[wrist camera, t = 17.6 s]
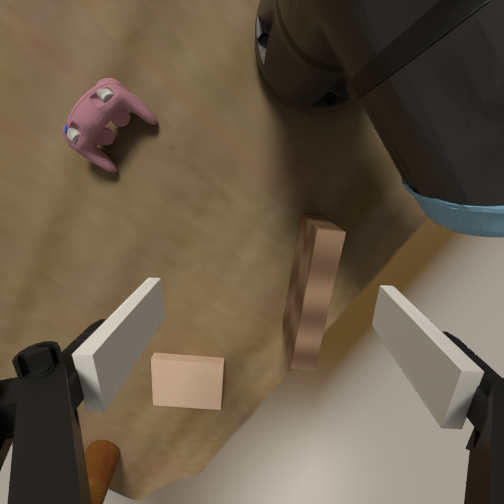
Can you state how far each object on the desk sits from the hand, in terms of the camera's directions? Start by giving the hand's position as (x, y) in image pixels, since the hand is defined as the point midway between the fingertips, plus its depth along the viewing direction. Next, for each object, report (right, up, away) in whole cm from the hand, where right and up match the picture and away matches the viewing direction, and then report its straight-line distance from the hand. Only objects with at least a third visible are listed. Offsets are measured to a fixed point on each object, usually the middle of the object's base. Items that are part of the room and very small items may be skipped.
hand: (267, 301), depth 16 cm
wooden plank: (+6, 0, +23) cm, 24 cm away
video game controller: (-18, +19, +18) cm, 31 cm away
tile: (-12, -15, +28) cm, 34 cm away
